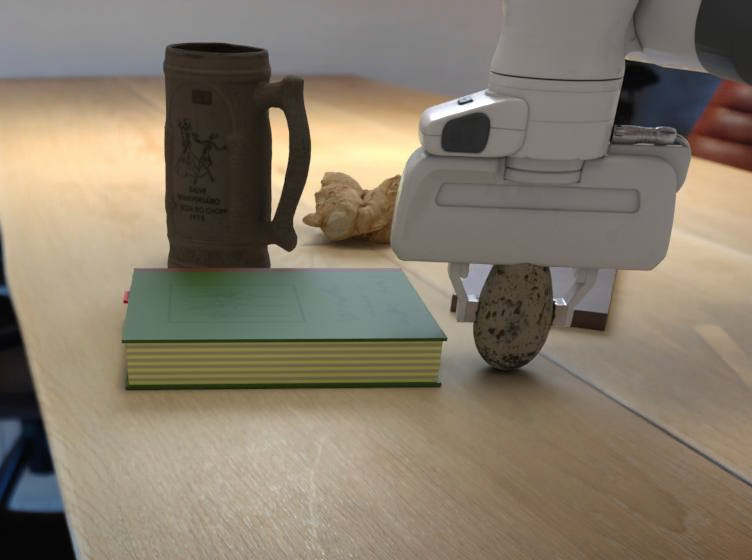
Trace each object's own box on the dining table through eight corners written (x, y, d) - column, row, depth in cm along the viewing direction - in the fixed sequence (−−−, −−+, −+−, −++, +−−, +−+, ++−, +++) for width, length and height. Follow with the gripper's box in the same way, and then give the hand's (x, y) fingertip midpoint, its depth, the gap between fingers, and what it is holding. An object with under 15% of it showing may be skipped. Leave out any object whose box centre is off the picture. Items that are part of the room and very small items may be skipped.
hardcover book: (396, 309, 85) (401, 268, 83) (440, 386, 70) (447, 337, 68) (128, 310, 83) (125, 268, 81) (115, 389, 69) (111, 339, 66)
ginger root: (267, 225, 104) (281, 148, 101) (339, 236, 116) (354, 166, 113) (382, 255, 97) (401, 172, 93) (446, 262, 109) (465, 189, 106)
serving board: (492, 245, 105) (494, 229, 104) (618, 258, 101) (621, 242, 100) (449, 310, 85) (452, 292, 84) (604, 330, 82) (608, 311, 81)
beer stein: (142, 275, 92) (141, 41, 80) (188, 249, 100) (194, 33, 88) (282, 305, 89) (304, 66, 76) (318, 277, 97) (344, 56, 84)
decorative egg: (548, 382, 71) (577, 248, 65) (473, 381, 71) (494, 246, 65) (532, 355, 76) (557, 228, 70) (461, 354, 76) (480, 226, 70)
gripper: (686, 121, 65) (635, 315, 73) (400, 111, 66) (382, 304, 74) (713, 135, 60) (655, 342, 68) (403, 124, 61) (384, 330, 69)
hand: (511, 322), depth 71 cm, fingers closed on decorative egg, 6 cm apart
